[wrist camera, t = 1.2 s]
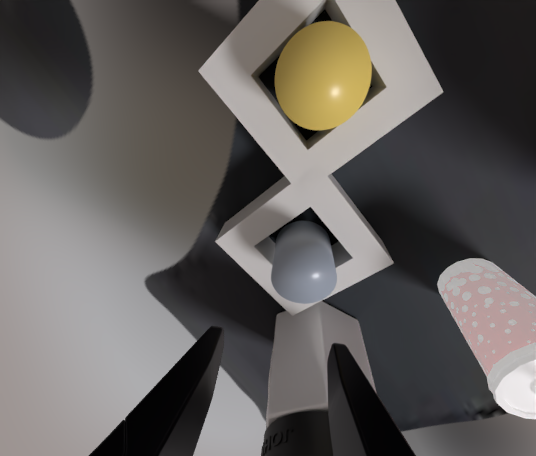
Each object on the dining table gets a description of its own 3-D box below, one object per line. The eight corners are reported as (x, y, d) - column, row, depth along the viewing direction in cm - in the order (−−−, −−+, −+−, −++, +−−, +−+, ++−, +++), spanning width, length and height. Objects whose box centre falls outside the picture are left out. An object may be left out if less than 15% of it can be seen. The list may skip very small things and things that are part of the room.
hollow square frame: (335, -63, 13) (343, -99, 11) (420, 90, 16) (443, 91, 13) (213, 73, 17) (198, 70, 14) (300, 180, 19) (301, 195, 17)
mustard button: (325, 17, 13) (335, -8, 10) (368, 85, 15) (390, 86, 11) (265, 76, 15) (255, 74, 11) (308, 134, 16) (311, 148, 13)
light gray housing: (315, 152, 18) (317, 163, 16) (382, 240, 21) (394, 263, 18) (225, 222, 22) (215, 241, 19) (292, 291, 25) (292, 316, 22)
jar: (274, 295, 25) (257, 447, 15) (363, 301, 24) (412, 466, 14) (273, 356, 29) (259, 509, 19) (349, 364, 29) (378, 526, 18)
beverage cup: (415, 271, 22) (559, 501, 10) (496, 236, 20) (808, 476, 8) (443, 317, 24) (590, 556, 12) (519, 290, 22) (796, 549, 10)
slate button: (308, 210, 18) (310, 239, 15) (341, 249, 20) (350, 285, 16) (265, 240, 20) (257, 273, 16) (297, 274, 21) (297, 312, 18)
